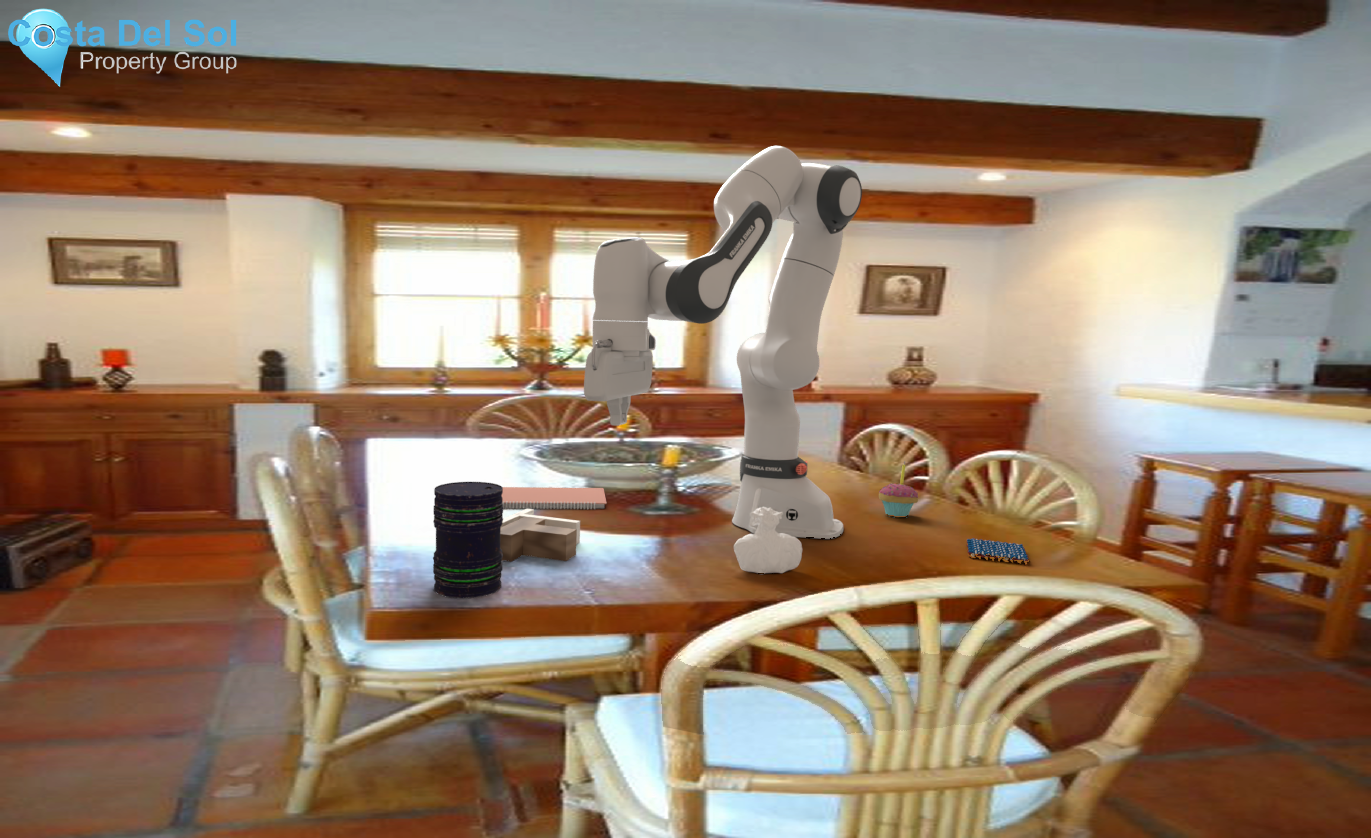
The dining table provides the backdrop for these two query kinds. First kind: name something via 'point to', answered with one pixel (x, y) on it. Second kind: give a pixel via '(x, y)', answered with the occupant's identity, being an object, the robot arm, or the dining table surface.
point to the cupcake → (898, 497)
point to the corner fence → (548, 521)
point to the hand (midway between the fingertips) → (618, 424)
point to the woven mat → (996, 549)
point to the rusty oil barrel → (468, 539)
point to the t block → (537, 540)
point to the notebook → (553, 498)
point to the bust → (767, 546)
